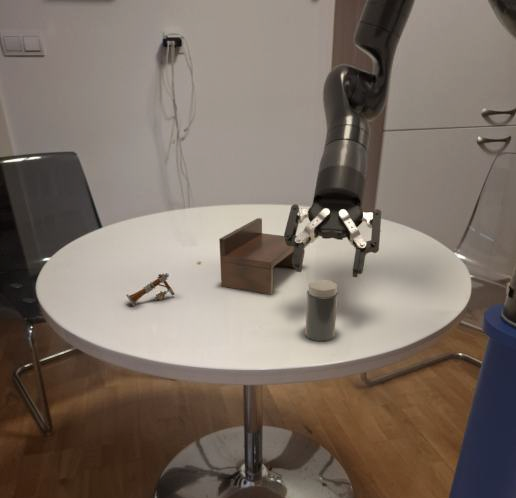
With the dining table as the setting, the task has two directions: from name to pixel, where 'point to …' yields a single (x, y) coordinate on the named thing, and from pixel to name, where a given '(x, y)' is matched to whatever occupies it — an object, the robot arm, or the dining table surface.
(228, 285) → the shelf
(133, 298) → the brown slender grey-tipped part
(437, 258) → the dining table surface
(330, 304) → the salt shaker
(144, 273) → the dining table surface
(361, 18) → the robot arm
